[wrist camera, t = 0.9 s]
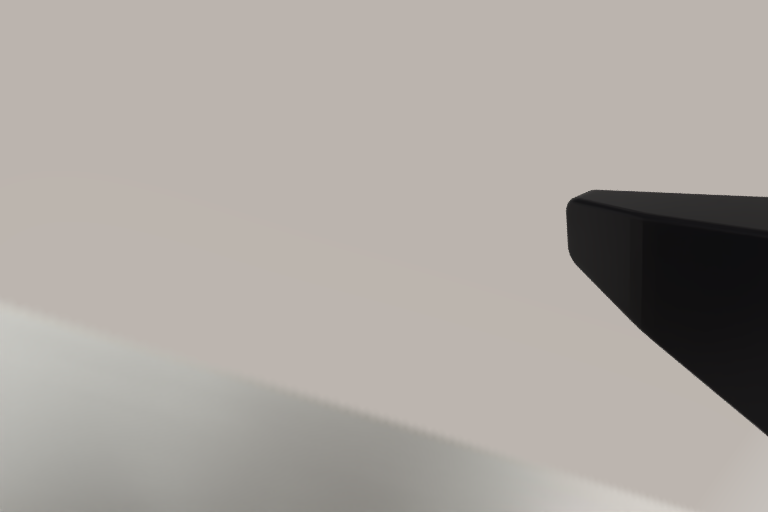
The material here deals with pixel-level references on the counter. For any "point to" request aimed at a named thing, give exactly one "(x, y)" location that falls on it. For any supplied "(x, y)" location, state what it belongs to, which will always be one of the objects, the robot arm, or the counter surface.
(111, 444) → the counter surface
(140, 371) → the counter surface
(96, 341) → the counter surface
